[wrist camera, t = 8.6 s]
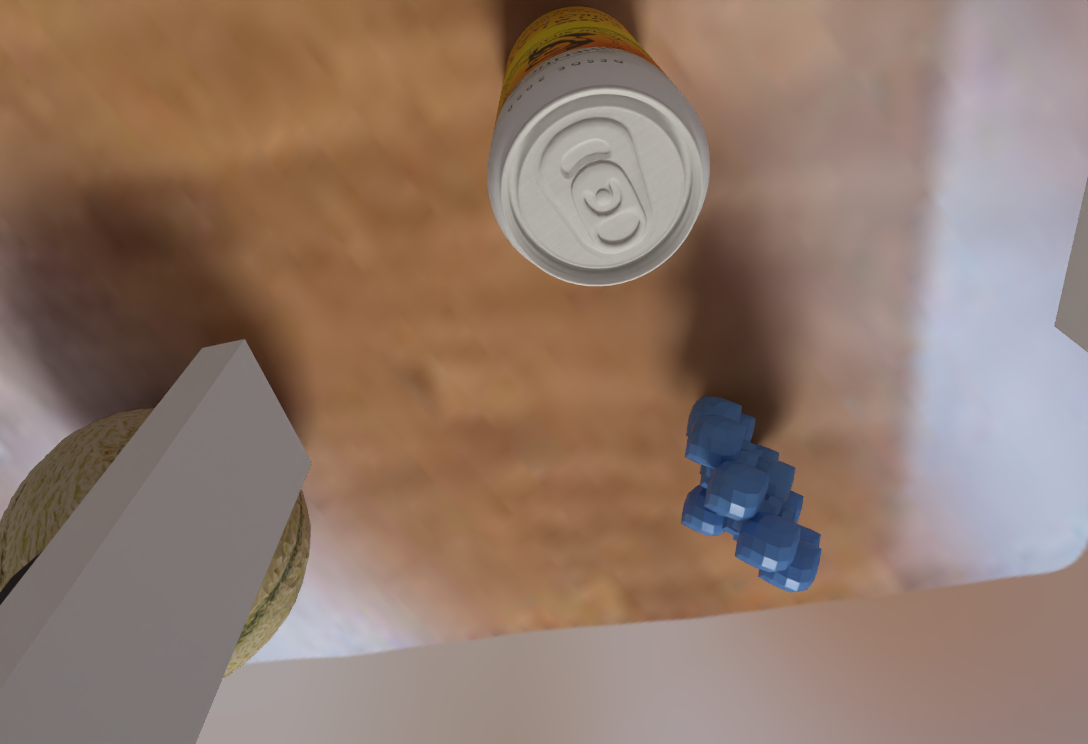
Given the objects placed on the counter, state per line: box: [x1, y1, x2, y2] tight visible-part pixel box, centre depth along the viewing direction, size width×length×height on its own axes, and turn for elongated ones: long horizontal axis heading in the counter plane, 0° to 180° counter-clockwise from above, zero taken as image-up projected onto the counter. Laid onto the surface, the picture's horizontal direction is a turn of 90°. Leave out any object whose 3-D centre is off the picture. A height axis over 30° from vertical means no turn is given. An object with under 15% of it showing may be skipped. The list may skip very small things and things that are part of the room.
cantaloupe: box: [0, 408, 311, 678], centre depth 36 cm, size 15×15×15 cm
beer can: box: [487, 6, 710, 286], centre depth 24 cm, size 6×6×15 cm
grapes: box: [681, 396, 821, 592], centre depth 36 cm, size 12×7×12 cm, turn 36°
